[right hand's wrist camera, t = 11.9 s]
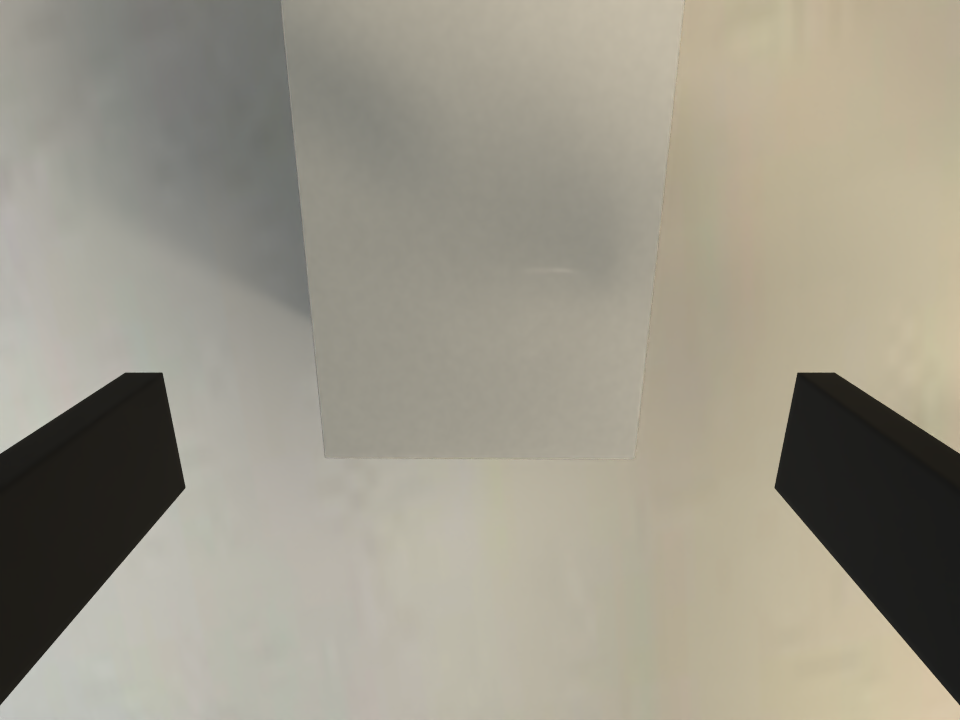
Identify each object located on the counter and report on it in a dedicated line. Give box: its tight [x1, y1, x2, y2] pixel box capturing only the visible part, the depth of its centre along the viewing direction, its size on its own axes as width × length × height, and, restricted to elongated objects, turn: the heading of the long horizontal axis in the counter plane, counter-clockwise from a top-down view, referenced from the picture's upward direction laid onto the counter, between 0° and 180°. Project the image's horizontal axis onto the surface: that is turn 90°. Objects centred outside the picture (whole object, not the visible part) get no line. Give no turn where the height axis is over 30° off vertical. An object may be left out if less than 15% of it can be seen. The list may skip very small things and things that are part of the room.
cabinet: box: [280, 0, 685, 460], centre depth 22 cm, size 21×11×10 cm, turn 0°
